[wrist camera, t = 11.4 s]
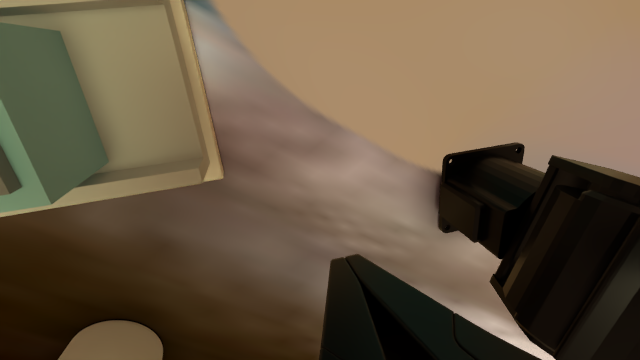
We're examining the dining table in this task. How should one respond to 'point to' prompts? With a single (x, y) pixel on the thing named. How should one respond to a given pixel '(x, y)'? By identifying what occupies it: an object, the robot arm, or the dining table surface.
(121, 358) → the mug
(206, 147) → the mount board
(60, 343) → the dining table surface
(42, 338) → the dining table surface
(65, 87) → the block
